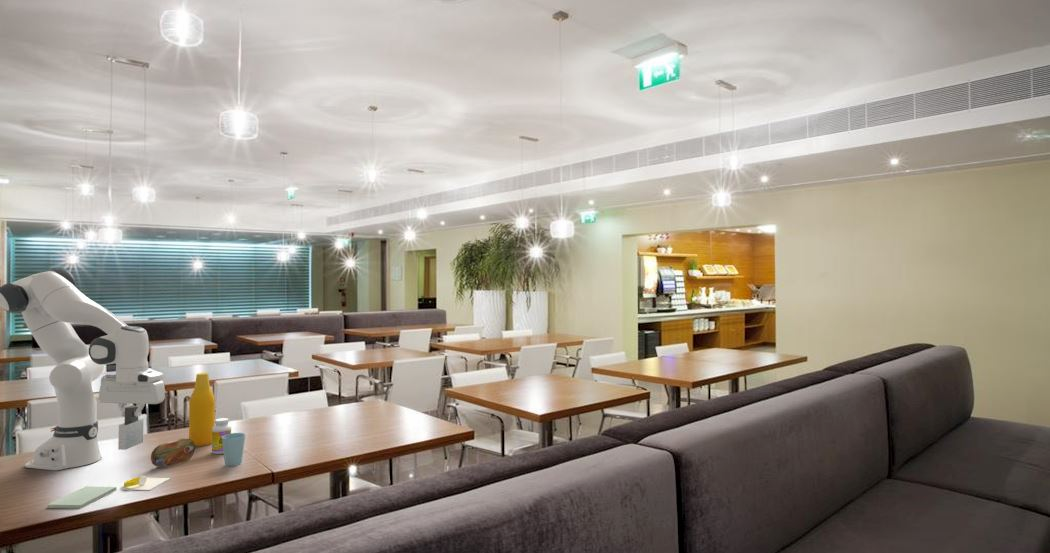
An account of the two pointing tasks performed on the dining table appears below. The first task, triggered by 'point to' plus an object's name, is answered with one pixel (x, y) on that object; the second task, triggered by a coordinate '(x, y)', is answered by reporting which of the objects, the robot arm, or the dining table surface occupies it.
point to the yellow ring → (135, 481)
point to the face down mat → (148, 484)
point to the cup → (233, 448)
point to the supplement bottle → (219, 434)
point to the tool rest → (82, 497)
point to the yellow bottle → (201, 412)
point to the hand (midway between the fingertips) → (131, 416)
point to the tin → (172, 453)
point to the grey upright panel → (130, 430)
